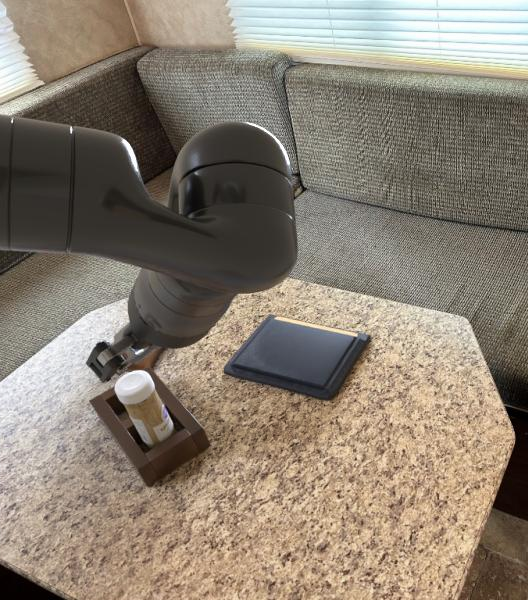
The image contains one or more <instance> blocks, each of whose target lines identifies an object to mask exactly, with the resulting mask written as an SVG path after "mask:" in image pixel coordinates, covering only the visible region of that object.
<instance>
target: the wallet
mask: <svg viewBox="0 0 528 600" xmlns="http://www.w3.org/2000/svg"><path fill="white" fill-rule="evenodd" d="M371 339H372V336H371V334H367V333H363V332H359V331H354V330H348V329H345V328H344V329H343V328H338V327H333V326H329V325H325V324H319V323H315V322H310V321H307V320H306V321H305V320H300V319H295V318H290V317H286V316H281V315H277V314H271V313H269V314H268V315H267V316H266V318H265V319H264V320H263V321H262V322H261V323H260V324H259V325H258V326H257V327H256V328H255V330H254V331H253V332H252V333H251V334H250V335H249V337H248V338H247V339H246V340H245V341H244V342H243V344H242V345H241V346H240V347H239V348H238V350H237V351H236V352H235V353H234V354H233V355H232V356H231V358H229V360H228V361H227V362H226V363H225V365H224V367H223V372H222V373H223V375H226V376H228V377H229V376H230V377H232V378H236V379H240V380H244V381H249V382H253V383H257V384H260V385H265V386H269V387H273V388H277V389H281V390H285V391H289V392H292V393H295V394H299V395H303V396H307V397H309V398H313V399H317V400H321V401H330V400H332V399H333V398H335V397H336V396H337V394H338V393H339V391H340V390H341V389H342V387H343V386H344V385H343V384H344V383H345V382H346V379H347V378H348V376H349V374H350V373H351V371H352V370H353V367H354V366H355V365H356V363H357V361H358V360H359V358H360V357H361V355H362V354H363V352H364V350H365V349H366V347H367V345H368V344H369V342H370V340H371Z"/></svg>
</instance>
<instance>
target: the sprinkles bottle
mask: <svg viewBox="0 0 528 600" xmlns="http://www.w3.org/2000/svg"><path fill="white" fill-rule="evenodd" d="M114 386H115V392H116V394H117V397H118V398H119V400H120V401H121V402H122V403H123V404H124V406H125V408H126V409H127V411H126V412H127V413H128V416H129V417H130V418H131V420H132V421H133V423H134V425H135V427H136V429H137V430H138V432H139V434H140V436H141V438H142V439H143V441H144V442H143V443H144V444H145V445H146V447H147V449H148V452H149V451H150V450H152V449H153V448H155V447H156V446H158V445H160V444H161V443H163V442H164V441H166V440H167V439H169V438H171V437H172V436H174V435H175V434H177V433H178V432H177V430H176V428H175V425H174V424H173V422H172V421H171V418H170V416H169V414H168V412H167V411H166V408H165V406H164V405H163V404H162V402H161V400H160V398H159V396H158V394H157V392H156V390H155V385H154V382H153V380H152V378H151V376H150V375H149V374H148V373H147V372H145V371H140V370H139V371H133V372H126V373H124V374H123V375H121V376H120V378H118V380H117V381H116V383H115V385H114Z"/></svg>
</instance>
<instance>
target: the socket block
mask: <svg viewBox="0 0 528 600" xmlns="http://www.w3.org/2000/svg"><path fill="white" fill-rule="evenodd" d="M142 371H145V372H147V373H148V374H149V375H150V376H151V378H152V380H153V382H154V385H155V390H156V392H157V394H158V396H159V398H160V400H161V402H162V404H163V405H164V406H165V408H166V411H167V412H168V414H169V416H170V418H171V421H172V422H173V425H174V424H175V425H176V426H177V427H178V429H179V430H180V431H178V432H177V434H175V435H174V436H172V437H171V438H169V439H167V440H166V441H164V442H163V443H161V444H160V445H158V446H156V447H155V448H153V449H152V450H150V451H149V450H148V451H147V452H146V453H145V452H144V451H143V449H141V447H140V446H141V445H142V444H143V443H145V442H144V441H143V439H142V438H141V436H140V434H139V432H138V430H137V429H136V427H135V425H134V423H133V421H132V420H131V418H130V416H129V417H128V418H125V420H123V421H121V420H120V418H119V416H121V415H122V414H124V413H126V412H128V411H127V409H126V408H125V406H124V404H123V403H122V402H121V401H120V400H119V398H118V397H117V394H116V392H115V385H113V386H112V387H110V388H108V389H107V390H105V391H104V392H102V393H100V394H98V395H97V396H95V397H92V398H91V399H89V400H88V402H89V404H90V405H91V407H92V409H93V410H94V412H95V413H96V415H97V417H98V418H99V420H100V421H101V423H102V424H103V426H104V427H105V429H106V430H107V432H108V433H109V434H110V435H111V437H112V439H113V440H114V442H115V443H116V444H117V446H118V447H119V449H120V450H121V452H122V453H123V454H124V456H125V457H126V458H127V460H128V461H129V463H130V464H131V466H132V467H133V469H134V471H135V472H136V473H137V474H138V476H139V478H140V479H141V480H142V482H143V483H144V484H145V486H146V487H147V488H150V487H151V486H152V485H154V484H156V483H157V482H158V481H160V480H162V479H163V478H165V477H166V476H167V475H169V474H170V473H172V472H173V471H176V470H177V469H178V468H179V467H181V466H183V465H184V464H185V463H187V462H189V461H190V460H191V459H193V458H194V457H196V456H197V455H199V454H200V453H202V452H204V451H205V450H207V449H208V448H209V447H211V446H212V445H211V442H210V440H209V437H208V435H207V433H206V431H205V429H204V427H203V426H202V424H201V423H200V422H199V421H198V420H197V419H196V418H195V417H194V414H193V415H192V413H191V412H190V411H189V409H188V408H187V407H186V406H185V404H183V403H182V401H180V399H179V398H178V397H177V396H176V395H175V393H174V392H173V391H172V390H171V389H170V387H169V386H168V385H167V384H166V383H165V382H164V381H163V380H162V378H160V377H159V376H158V374H157V373H156V372H155V370H154V369H153V368H151V367H148V368H146V369H144V370H142Z"/></svg>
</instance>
